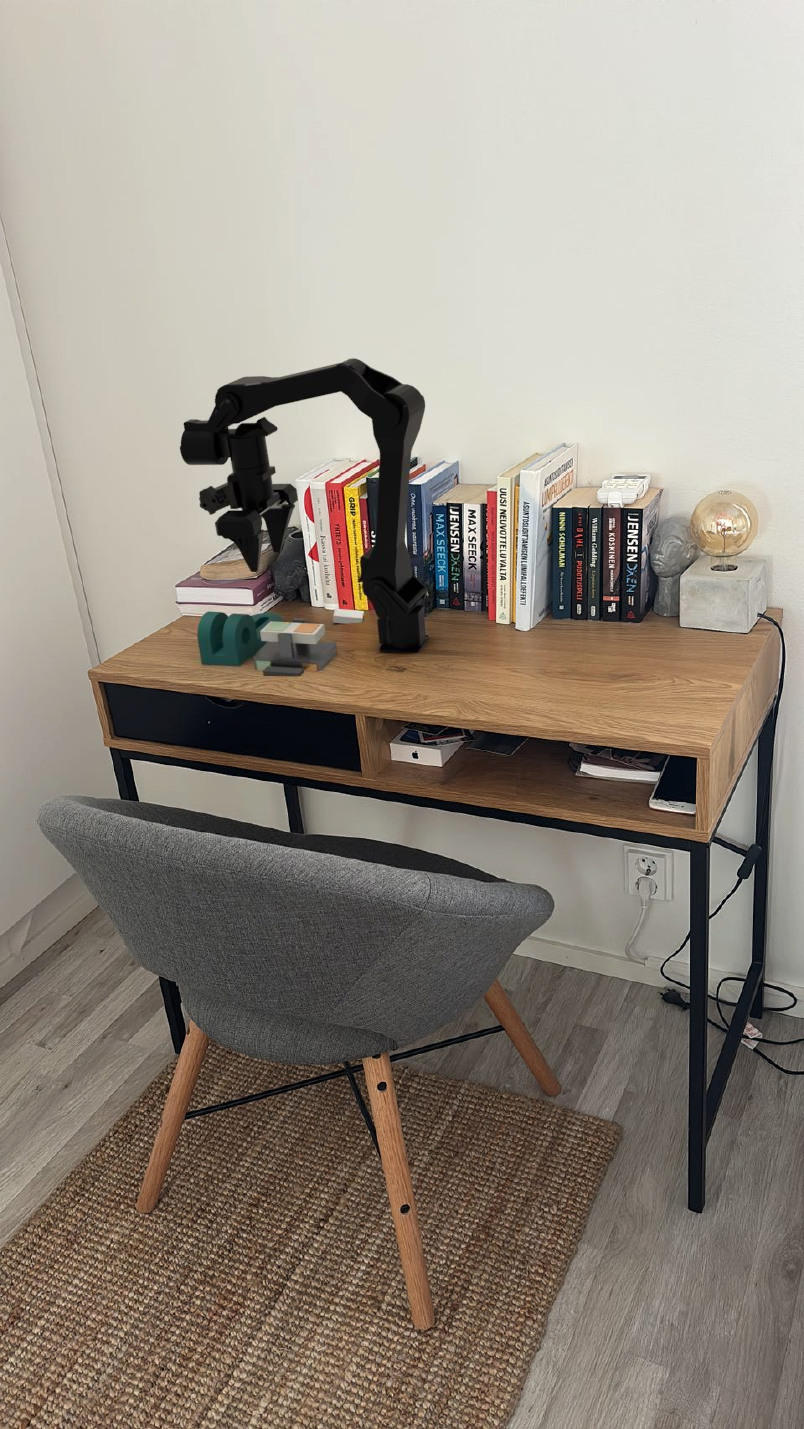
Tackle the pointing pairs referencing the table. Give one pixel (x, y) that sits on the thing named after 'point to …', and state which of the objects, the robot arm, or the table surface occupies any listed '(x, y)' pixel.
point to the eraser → (347, 616)
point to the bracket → (231, 637)
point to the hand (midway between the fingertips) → (266, 561)
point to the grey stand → (294, 653)
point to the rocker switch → (293, 632)
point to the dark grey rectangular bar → (282, 671)
